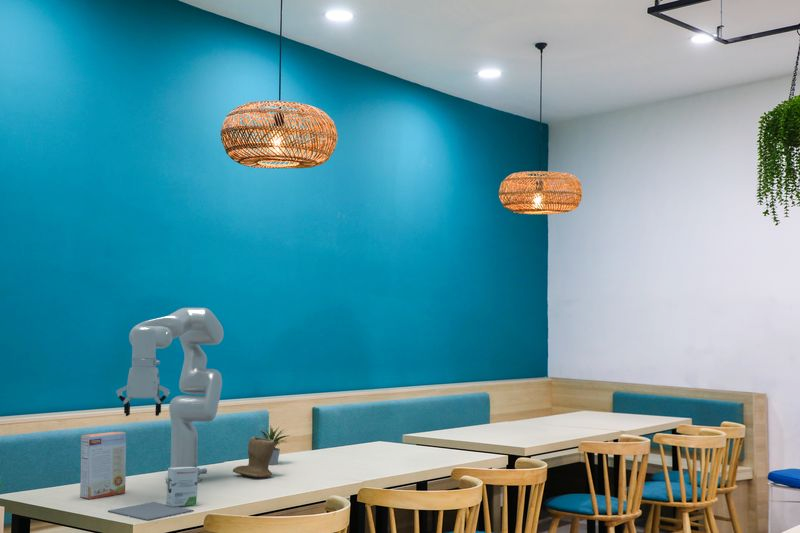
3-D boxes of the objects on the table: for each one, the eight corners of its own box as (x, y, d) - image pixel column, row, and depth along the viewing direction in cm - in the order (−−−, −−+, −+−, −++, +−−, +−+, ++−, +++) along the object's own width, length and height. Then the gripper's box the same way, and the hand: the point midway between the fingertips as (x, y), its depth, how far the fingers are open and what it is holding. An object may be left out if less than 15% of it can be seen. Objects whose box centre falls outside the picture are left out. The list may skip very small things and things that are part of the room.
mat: (153, 503, 279) (153, 501, 279) (193, 511, 267) (193, 510, 267) (107, 511, 266) (107, 510, 266) (147, 520, 254) (147, 519, 254)
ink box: (189, 502, 280) (191, 465, 282) (196, 504, 276) (199, 467, 278) (164, 504, 275) (167, 467, 276) (172, 507, 271) (174, 468, 272)
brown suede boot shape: (280, 476, 330) (281, 437, 331) (255, 480, 321) (256, 440, 322) (256, 472, 340) (257, 433, 341) (231, 475, 332) (232, 436, 333)
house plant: (272, 468, 349) (272, 427, 350) (246, 465, 356) (246, 425, 357) (294, 463, 361) (294, 424, 362) (268, 461, 368) (269, 422, 370)
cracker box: (116, 491, 299) (117, 430, 300) (125, 493, 295) (127, 432, 296) (78, 497, 288) (80, 434, 290) (88, 499, 284) (90, 435, 286)
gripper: (171, 363, 292) (170, 414, 291) (119, 363, 290) (118, 414, 289) (168, 364, 285) (167, 416, 284) (114, 364, 283) (113, 417, 282)
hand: (142, 415), depth 286 cm, fingers open, 9 cm apart
